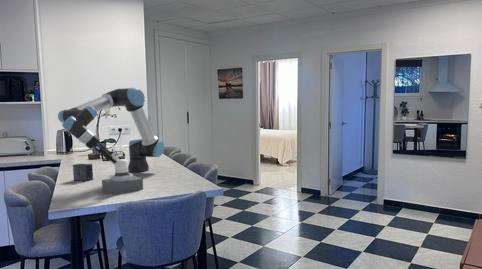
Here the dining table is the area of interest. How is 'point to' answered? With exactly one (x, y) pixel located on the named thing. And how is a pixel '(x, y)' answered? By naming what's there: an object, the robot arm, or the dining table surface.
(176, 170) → the dining table surface
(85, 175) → the small box
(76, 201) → the dining table surface
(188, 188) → the dining table surface
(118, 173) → the white glossy rounded part
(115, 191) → the octagonal socket base
